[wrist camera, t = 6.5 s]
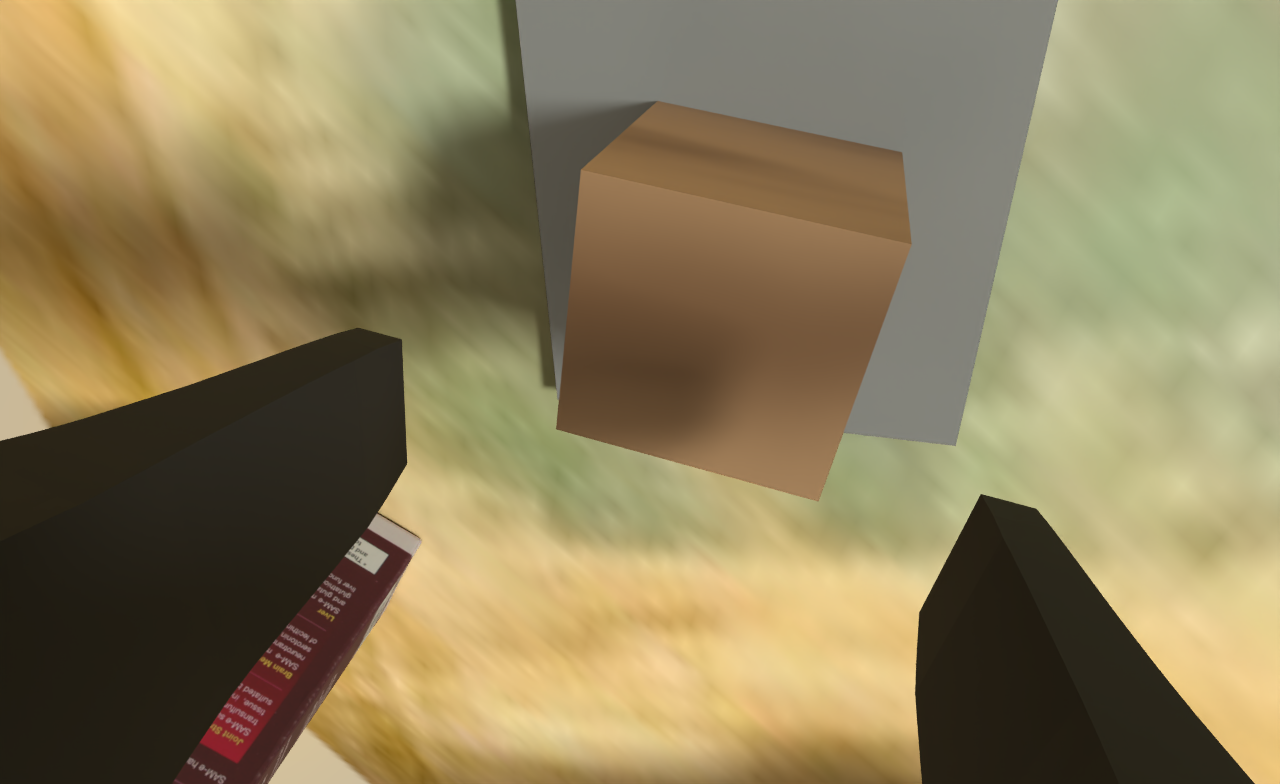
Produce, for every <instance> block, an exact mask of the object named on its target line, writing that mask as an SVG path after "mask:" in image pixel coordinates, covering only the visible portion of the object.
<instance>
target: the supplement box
mask: <svg viewBox="0 0 1280 784" xmlns="http://www.w3.org/2000/svg"><path fill="white" fill-rule="evenodd" d="M421 542H422V541H421V540H420V538H418V537H417V536H415V535H413V534H411V533H410V532H408V531H406V530H404V529H403V528H401V527H399V526H398V525H396V524H394V523H392V522H391V521H389V520H387V519H386V518H384V517H382V516H381V515H379V514H376V516H375V517H374V519H373V520H372V522H371V524H370V525H369V527H368V528H367V529H366V530H365V532H364V533H363V534H362V535H361V537H360V538H359V539H358V540H357V542H356V543H355V544H354V545H353V547H352V548H351V549H350V550H349V552H348V553H347V554H346V555H345V556H344V558H343V559H342V560H341V561H340V563H339V564H338V565H337V566H336V567H335V569H334V570H333V571H332V572H331V574H330V575H329V576H328V577H327V578H326V580H325V581H324V582H323V583H322V584H321V586H320V587H319V588H318V589H317V591H316V592H315V593H314V594H313V595H312V597H311V598H310V599H309V600H308V601H307V603H306V604H305V605H304V606H303V607H302V609H301V610H300V611H299V612H298V613H297V615H296V616H295V617H294V618H293V619H292V621H291V622H290V623H289V624H288V625H287V627H286V628H285V629H284V630H283V632H282V633H281V634H280V635H279V636H278V638H277V639H276V640H275V641H274V642H273V644H272V645H271V646H270V647H269V648H268V650H267V651H266V652H265V653H264V654H263V656H262V657H261V658H260V659H259V660H258V662H257V663H256V664H255V665H254V667H253V668H252V669H251V671H250V672H249V673H248V675H247V676H246V677H245V678H244V680H243V681H242V682H241V684H240V685H239V686H238V688H237V689H236V690H235V692H234V693H233V694H232V696H231V697H230V698H229V700H228V701H227V703H226V704H225V706H224V707H223V709H222V710H221V711H220V713H219V714H218V716H217V717H216V719H215V720H214V722H213V723H212V725H211V726H210V728H209V729H208V731H207V732H206V734H205V735H204V737H203V738H202V740H201V741H200V743H199V744H198V745H197V747H196V748H195V750H194V751H193V753H192V754H191V756H190V757H189V759H188V760H187V762H186V763H185V765H184V766H183V768H182V769H181V771H180V772H179V774H178V775H177V777H176V778H175V780H174V782H173V783H172V784H268V782H269V781H270V779H271V778H272V776H273V775H274V773H275V772H276V770H277V769H278V767H279V766H280V764H281V763H282V761H283V760H284V759H285V757H286V756H287V754H288V753H289V751H290V749H291V748H292V747H293V745H294V744H295V742H296V741H297V739H298V738H299V736H300V735H301V733H302V732H303V730H304V729H305V727H306V726H307V724H308V723H309V722H310V720H311V719H312V717H313V716H314V714H315V713H316V711H317V710H318V708H319V707H320V705H321V704H322V702H323V701H324V699H325V698H326V696H327V695H328V693H329V692H330V691H331V689H332V688H333V686H334V685H335V683H336V682H337V680H338V679H339V677H340V676H341V674H342V673H343V671H344V670H345V668H346V667H347V665H348V664H349V662H350V661H351V659H352V658H353V656H354V655H355V654H356V652H357V651H358V649H359V648H360V646H361V645H362V643H363V642H364V640H365V639H366V637H367V636H368V634H369V633H370V631H371V630H372V628H373V627H374V626H375V624H376V623H377V621H378V620H379V618H380V617H381V615H382V614H383V612H384V611H385V609H386V608H387V606H388V604H389V602H390V599H391V597H392V595H393V593H394V591H395V589H396V587H397V585H398V583H399V581H400V579H401V577H402V575H403V573H404V572H405V570H406V568H407V566H408V564H409V562H410V560H411V559H412V557H413V555H414V554H415V552H416V551H417V549H418V547H419V546H420V544H421Z"/></svg>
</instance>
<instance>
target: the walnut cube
mask: <svg viewBox="0 0 1280 784" xmlns="http://www.w3.org/2000/svg"><path fill="white" fill-rule="evenodd" d="M911 245H912V242H911V233H910V223H909V213H908V204H907V194H906V184H905V174H904V165H903V155H902V152H898V151H894V150H889V149H884V148H879V147H875V146H870V145H865V144H860V143H856V142H851V141H846V140H841V139H837V138H832V137H827V136H822V135H818V134H813V133H808V132H803V131H798V130H794V129H789V128H784V127H779V126H775V125H770V124H765V123H760V122H756V121H751V120H746V119H741V118H737V117H732V116H727V115H722V114H718V113H713V112H708V111H703V110H699V109H694V108H689V107H684V106H680V105H675V104H670V103H665V102H660V101H657V102H656V103H655V104H654V105H653V106H651V107H650V108H649V109H648V110H647V111H646V112H645V113H644V114H643V115H641V116H640V117H639V118H638V119H637V120H636V121H635V122H634V123H633V124H631V125H630V126H629V127H628V128H627V129H626V130H625V131H624V132H622V133H621V134H620V135H619V136H618V137H617V138H616V139H615V140H614V141H612V142H611V143H610V144H609V145H608V146H607V147H606V148H605V149H604V150H602V151H601V152H600V153H599V154H598V155H597V156H596V157H595V158H594V159H592V160H591V161H590V162H589V163H588V164H587V165H586V166H585V167H583V168H582V169H581V175H580V185H579V196H578V206H577V217H576V227H575V238H574V248H573V259H572V269H571V280H570V290H569V300H568V311H567V321H566V332H565V342H564V353H563V363H562V374H561V384H560V395H559V405H558V416H557V426H556V429H557V430H561V431H565V432H568V433H572V434H575V435H579V436H583V437H586V438H590V439H594V440H597V441H601V442H604V443H608V444H612V445H615V446H619V447H623V448H626V449H630V450H634V451H637V452H641V453H644V454H648V455H652V456H655V457H659V458H663V459H666V460H670V461H674V462H677V463H681V464H684V465H688V466H692V467H695V468H699V469H703V470H706V471H710V472H713V473H717V474H721V475H724V476H728V477H732V478H735V479H739V480H743V481H746V482H750V483H753V484H757V485H761V486H764V487H768V488H772V489H775V490H779V491H783V492H786V493H790V494H793V495H797V496H801V497H804V498H808V499H812V500H815V501H819V498H820V496H821V493H822V490H823V487H824V485H825V482H826V479H827V476H828V474H829V471H830V468H831V465H832V463H833V460H834V457H835V454H836V452H837V449H838V446H839V443H840V441H841V438H842V435H843V432H844V430H845V427H846V424H847V421H848V419H849V416H850V413H851V410H852V408H853V405H854V402H855V399H856V397H857V394H858V391H859V388H860V386H861V383H862V380H863V377H864V375H865V372H866V369H867V366H868V363H869V361H870V358H871V355H872V352H873V350H874V347H875V344H876V341H877V339H878V336H879V333H880V330H881V328H882V325H883V322H884V319H885V317H886V314H887V311H888V308H889V306H890V303H891V300H892V297H893V295H894V292H895V289H896V286H897V284H898V281H899V278H900V275H901V273H902V270H903V267H904V264H905V262H906V259H907V256H908V253H909V251H910V248H911Z"/></svg>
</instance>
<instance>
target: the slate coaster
mask: <svg viewBox="0 0 1280 784" xmlns="http://www.w3.org/2000/svg"><path fill="white" fill-rule="evenodd" d="M1057 2H1058V0H516V8H517V18H518V27H519V37H520V47H521V56H522V66H523V75H524V85H525V94H526V104H527V113H528V123H529V132H530V142H531V151H532V161H533V170H534V180H535V189H536V199H537V208H538V218H539V227H540V237H541V246H542V256H543V265H544V275H545V284H546V294H547V303H548V313H549V322H550V332H551V341H552V351H553V360H554V370H555V379H556V389H557V398H558V400H559V395H560V384H561V374H562V363H563V353H564V342H565V332H566V321H567V311H568V300H569V290H570V280H571V269H572V259H573V248H574V238H575V227H576V217H577V206H578V196H579V185H580V175H581V169H582V168H583V167H585V166H586V165H587V164H588V163H589V162H590V161H591V160H592V159H594V158H595V157H596V156H597V155H598V154H599V153H600V152H601V151H602V150H604V149H605V148H606V147H607V146H608V145H609V144H610V143H611V142H612V141H614V140H615V139H616V138H617V137H618V136H619V135H620V134H621V133H622V132H624V131H625V130H626V129H627V128H628V127H629V126H630V125H631V124H633V123H634V122H635V121H636V120H637V119H638V118H639V117H640V116H641V115H643V114H644V113H645V112H646V111H647V110H648V109H649V108H650V107H651V106H653V105H654V104H655V103H656V102H657V101H660V102H665V103H670V104H675V105H680V106H684V107H689V108H694V109H699V110H703V111H708V112H713V113H718V114H722V115H727V116H732V117H737V118H741V119H746V120H751V121H756V122H760V123H765V124H770V125H775V126H779V127H784V128H789V129H794V130H798V131H803V132H808V133H813V134H818V135H822V136H827V137H832V138H837V139H841V140H846V141H851V142H856V143H860V144H865V145H870V146H875V147H879V148H884V149H889V150H894V151H898V152H902V155H903V165H904V174H905V184H906V194H907V204H908V213H909V223H910V233H911V242H912V245H911V248H910V251H909V253H908V256H907V259H906V262H905V264H904V267H903V270H902V273H901V275H900V278H899V281H898V284H897V286H896V289H895V292H894V295H893V297H892V300H891V303H890V306H889V308H888V311H887V314H886V317H885V319H884V322H883V325H882V328H881V330H880V333H879V336H878V339H877V341H876V344H875V347H874V350H873V352H872V355H871V358H870V361H869V363H868V366H867V369H866V372H865V375H864V377H863V380H862V383H861V386H860V388H859V391H858V394H857V397H856V399H855V402H854V405H853V408H852V410H851V413H850V416H849V419H848V421H847V424H846V427H845V430H844V432H843V433H850V434H859V435H867V436H876V437H884V438H893V439H902V440H910V441H919V442H927V443H936V444H944V445H953V446H956V442H957V438H958V433H959V429H960V425H961V420H962V416H963V411H964V407H965V403H966V398H967V394H968V390H969V385H970V381H971V377H972V372H973V368H974V364H975V359H976V355H977V351H978V346H979V342H980V337H981V333H982V329H983V324H984V320H985V316H986V311H987V307H988V303H989V298H990V294H991V290H992V285H993V281H994V277H995V272H996V268H997V263H998V259H999V255H1000V250H1001V246H1002V242H1003V237H1004V233H1005V229H1006V224H1007V220H1008V216H1009V211H1010V207H1011V202H1012V198H1013V194H1014V189H1015V185H1016V181H1017V176H1018V172H1019V168H1020V163H1021V159H1022V155H1023V150H1024V146H1025V142H1026V137H1027V133H1028V128H1029V124H1030V120H1031V115H1032V111H1033V107H1034V102H1035V98H1036V94H1037V89H1038V85H1039V81H1040V76H1041V72H1042V68H1043V63H1044V59H1045V54H1046V50H1047V46H1048V41H1049V37H1050V33H1051V28H1052V24H1053V20H1054V15H1055V11H1056V7H1057Z"/></svg>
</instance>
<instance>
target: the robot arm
mask: <svg viewBox="0 0 1280 784" xmlns="http://www.w3.org/2000/svg"><path fill="white" fill-rule="evenodd" d="M406 465H407V450H406V427H405V404H404V381H403V358H402V339H398V338H394V337H391V336H387V335H383V334H379V333H376V332H372V331H368V330H364V329H361V328H356V329H352V330H348V331H345V332H341V333H338V334H334V335H331V336H328V337H325V338H322V339H319V340H316V341H313V342H310V343H307V344H304V345H301V346H298V347H296V348H293V349H290V350H287V351H284V352H281V353H279V354H276V355H273V356H270V357H267V358H265V359H262V360H259V361H256V362H253V363H251V364H248V365H245V366H242V367H239V368H236V369H234V370H231V371H228V372H225V373H222V374H219V375H217V376H214V377H211V378H208V379H205V380H203V381H200V382H197V383H194V384H191V385H188V386H185V387H182V388H179V389H176V390H173V391H170V392H167V393H163V394H160V395H157V396H154V397H151V398H148V399H145V400H141V401H138V402H135V403H132V404H129V405H126V406H123V407H119V408H116V409H113V410H110V411H107V412H104V413H101V414H97V415H94V416H91V417H88V418H85V419H81V420H78V421H74V422H71V423H67V424H64V425H60V426H56V427H53V428H49V429H45V430H42V431H38V432H34V433H31V434H27V435H23V436H19V437H15V438H11V439H6V440H2V441H0V784H172V783H173V782H174V780H175V778H176V777H177V775H178V774H179V772H180V771H181V769H182V768H183V766H184V765H185V763H186V762H187V760H188V759H189V757H190V756H191V754H192V753H193V751H194V750H195V748H196V747H197V745H198V744H199V743H200V741H201V740H202V738H203V737H204V735H205V734H206V732H207V731H208V729H209V728H210V726H211V725H212V723H213V722H214V720H215V719H216V717H217V716H218V714H219V713H220V711H221V710H222V709H223V707H224V706H225V704H226V703H227V701H228V700H229V698H230V697H231V696H232V694H233V693H234V692H235V690H236V689H237V688H238V686H239V685H240V684H241V682H242V681H243V680H244V678H245V677H246V676H247V675H248V673H249V672H250V671H251V669H252V668H253V667H254V665H255V664H256V663H257V662H258V660H259V659H260V658H261V657H262V656H263V654H264V653H265V652H266V651H267V650H268V648H269V647H270V646H271V645H272V644H273V642H274V641H275V640H276V639H277V638H278V636H279V635H280V634H281V633H282V632H283V630H284V629H285V628H286V627H287V625H288V624H289V623H290V622H291V621H292V619H293V618H294V617H295V616H296V615H297V613H298V612H299V611H300V610H301V609H302V607H303V606H304V605H305V604H306V603H307V601H308V600H309V599H310V598H311V597H312V595H313V594H314V593H315V592H316V591H317V589H318V588H319V587H320V586H321V584H322V583H323V582H324V581H325V580H326V578H327V577H328V576H329V575H330V574H331V572H332V571H333V570H334V569H335V567H336V566H337V565H338V564H339V563H340V561H341V560H342V559H343V558H344V556H345V555H346V554H347V553H348V552H349V550H350V549H351V548H352V547H353V545H354V544H355V543H356V542H357V540H358V539H359V538H360V537H361V535H362V534H363V533H364V532H365V530H366V529H367V528H368V527H369V525H370V524H371V522H372V520H373V519H374V517H375V516H376V514H377V513H378V511H379V509H380V508H381V506H382V505H383V503H384V502H385V500H386V499H387V497H388V495H389V493H390V492H391V490H392V488H393V487H394V485H395V483H396V482H397V480H398V478H399V477H400V475H401V473H402V472H403V470H404V468H405V466H406ZM915 696H916V711H917V724H918V737H919V750H920V763H921V774H922V784H1255V783H1254V782H1253V781H1252V780H1251V779H1250V778H1249V777H1248V775H1247V774H1246V773H1245V772H1244V771H1243V770H1242V768H1241V767H1240V766H1239V765H1238V764H1237V763H1236V761H1235V760H1234V759H1233V758H1232V757H1231V756H1230V754H1229V753H1228V752H1227V751H1226V750H1225V748H1224V747H1223V746H1222V745H1221V744H1220V743H1219V741H1218V740H1217V739H1216V738H1215V737H1214V736H1213V734H1212V733H1211V732H1210V731H1209V730H1208V729H1207V727H1206V726H1205V725H1204V724H1203V723H1202V722H1201V720H1200V719H1199V718H1198V717H1197V716H1196V715H1195V713H1194V712H1193V711H1192V710H1191V708H1190V707H1189V706H1188V705H1187V703H1186V702H1185V701H1184V700H1183V699H1182V697H1181V696H1180V695H1179V694H1178V692H1177V691H1176V690H1175V689H1174V687H1173V686H1172V685H1171V684H1170V683H1169V681H1168V680H1167V679H1166V678H1165V676H1164V675H1163V674H1162V672H1161V671H1160V670H1159V669H1158V667H1157V666H1156V665H1155V664H1154V662H1153V661H1152V660H1151V659H1150V657H1149V656H1148V655H1147V653H1146V652H1145V651H1144V650H1143V648H1142V647H1141V646H1140V644H1139V643H1138V642H1137V640H1136V639H1135V638H1134V637H1133V635H1132V634H1131V633H1130V631H1129V630H1128V629H1127V627H1126V626H1125V625H1124V623H1123V622H1122V621H1121V620H1120V618H1119V617H1118V616H1117V614H1116V613H1115V612H1114V610H1113V609H1112V608H1111V606H1110V605H1109V604H1108V602H1107V601H1106V600H1105V598H1104V597H1103V596H1102V594H1101V593H1100V592H1099V590H1098V589H1097V588H1096V586H1095V585H1094V584H1093V582H1092V581H1091V579H1090V578H1089V577H1088V575H1087V574H1086V573H1085V571H1084V570H1083V569H1082V567H1081V566H1080V565H1079V563H1078V562H1077V561H1076V559H1075V558H1074V557H1073V555H1072V554H1071V553H1070V551H1069V550H1068V549H1067V547H1066V546H1065V545H1064V543H1063V542H1062V541H1061V539H1060V538H1059V537H1058V535H1057V534H1056V533H1055V531H1054V530H1053V529H1052V528H1051V526H1050V525H1049V524H1048V522H1047V521H1046V520H1045V519H1044V518H1043V516H1042V515H1041V514H1040V513H1039V511H1038V510H1037V509H1035V508H1031V507H1028V506H1024V505H1020V504H1016V503H1013V502H1009V501H1005V500H1001V499H998V498H994V497H990V496H986V495H983V494H981V495H980V497H979V499H978V501H977V503H976V505H975V507H974V509H973V510H972V512H971V514H970V516H969V518H968V520H967V522H966V524H965V526H964V528H963V530H962V532H961V534H960V535H959V537H958V539H957V541H956V543H955V545H954V547H953V549H952V551H951V553H950V555H949V557H948V559H947V560H946V562H945V564H944V566H943V568H942V570H941V572H940V574H939V576H938V578H937V580H936V582H935V583H934V585H933V587H932V589H931V591H930V593H929V595H928V597H927V599H926V601H925V603H924V605H923V607H922V608H921V610H920V612H919V626H918V642H917V660H916V686H915Z"/></svg>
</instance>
